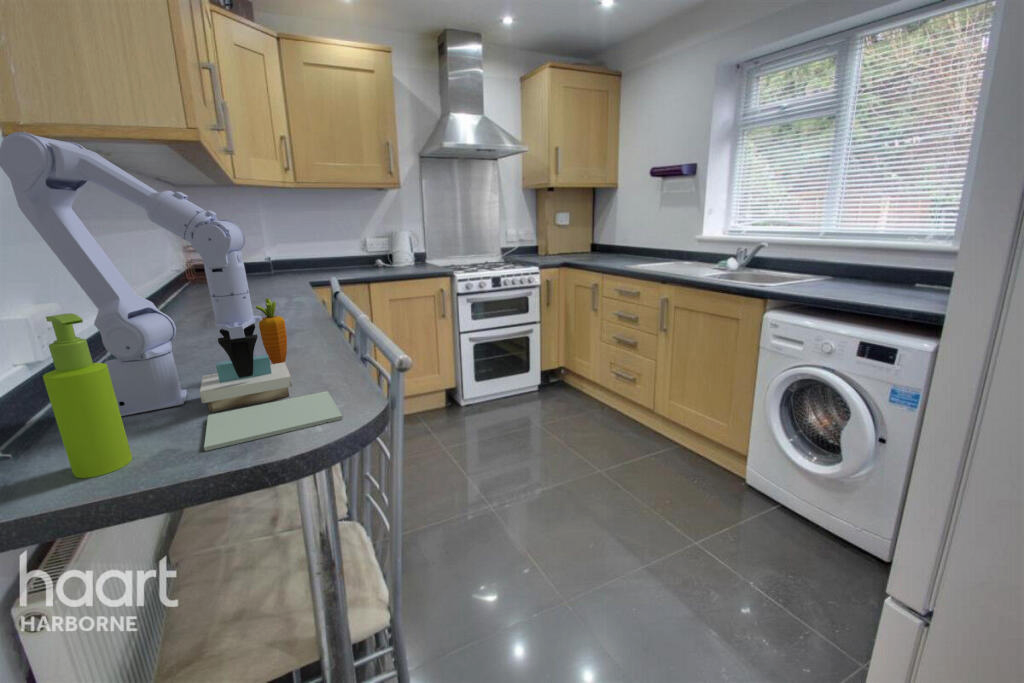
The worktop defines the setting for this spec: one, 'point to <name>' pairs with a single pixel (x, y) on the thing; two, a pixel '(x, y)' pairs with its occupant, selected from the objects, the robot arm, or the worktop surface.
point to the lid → (244, 380)
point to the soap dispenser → (84, 404)
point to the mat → (269, 419)
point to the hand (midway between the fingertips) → (245, 370)
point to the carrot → (273, 333)
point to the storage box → (248, 399)
